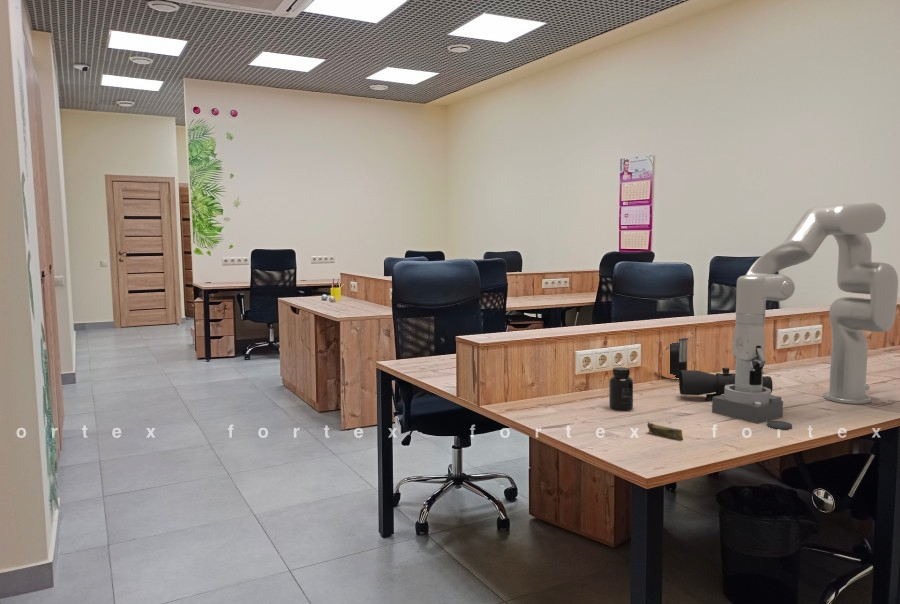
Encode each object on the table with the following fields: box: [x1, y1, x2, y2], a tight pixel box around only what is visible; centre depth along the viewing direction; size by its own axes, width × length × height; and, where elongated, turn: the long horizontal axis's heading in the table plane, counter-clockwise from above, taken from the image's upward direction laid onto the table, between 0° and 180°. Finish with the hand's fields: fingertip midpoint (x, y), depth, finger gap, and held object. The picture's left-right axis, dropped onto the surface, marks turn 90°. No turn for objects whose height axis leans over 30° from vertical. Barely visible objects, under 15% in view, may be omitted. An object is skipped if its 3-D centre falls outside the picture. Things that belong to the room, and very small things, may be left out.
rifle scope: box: [678, 367, 774, 402], centre depth 203 cm, size 10×26×10 cm, turn 78°
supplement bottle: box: [608, 366, 634, 412], centre depth 193 cm, size 7×7×12 cm
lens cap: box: [766, 420, 793, 431], centre depth 174 cm, size 6×6×1 cm
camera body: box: [711, 384, 784, 424], centre depth 186 cm, size 12×14×8 cm
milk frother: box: [670, 337, 689, 378], centre depth 234 cm, size 14×16×15 cm
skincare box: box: [734, 354, 764, 393], centre depth 185 cm, size 6×4×12 cm
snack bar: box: [647, 421, 684, 441], centre depth 166 cm, size 10×2×3 cm, turn 42°
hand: (748, 381), depth 185 cm, fingers closed on skincare box, 7 cm apart
